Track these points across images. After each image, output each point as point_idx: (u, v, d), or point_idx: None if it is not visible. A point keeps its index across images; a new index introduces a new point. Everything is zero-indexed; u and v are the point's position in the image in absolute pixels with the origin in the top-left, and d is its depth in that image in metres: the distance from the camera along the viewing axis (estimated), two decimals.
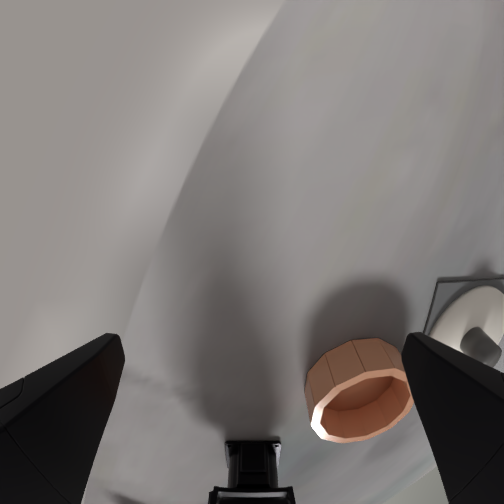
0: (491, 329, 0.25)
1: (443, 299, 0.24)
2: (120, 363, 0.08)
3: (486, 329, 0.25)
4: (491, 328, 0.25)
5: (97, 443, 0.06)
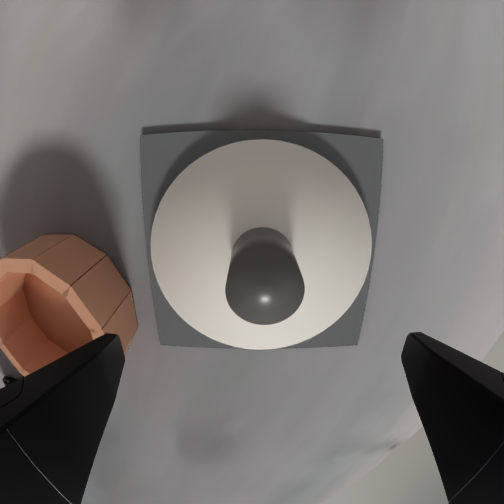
0: (321, 242, 0.16)
1: (161, 165, 0.15)
2: (120, 363, 0.08)
3: (302, 238, 0.16)
4: (320, 239, 0.16)
5: (97, 443, 0.06)
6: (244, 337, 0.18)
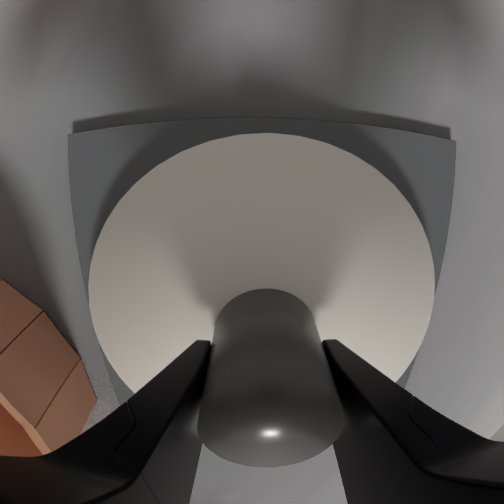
0: (361, 308, 0.09)
1: (99, 182, 0.09)
2: None
3: (332, 304, 0.09)
4: (359, 305, 0.09)
5: (198, 460, 0.06)
6: None
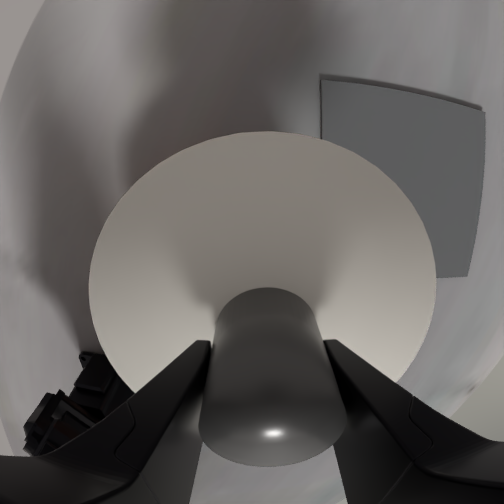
0: (362, 307, 0.09)
1: (341, 108, 0.16)
2: None
3: (333, 303, 0.09)
4: (361, 303, 0.09)
5: (198, 460, 0.06)
6: None
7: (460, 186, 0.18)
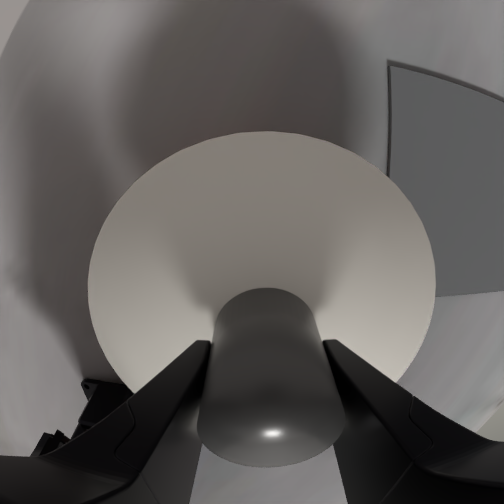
0: (361, 308, 0.09)
1: (410, 100, 0.13)
2: None
3: (332, 303, 0.09)
4: (360, 304, 0.09)
5: (198, 460, 0.06)
6: None
7: None
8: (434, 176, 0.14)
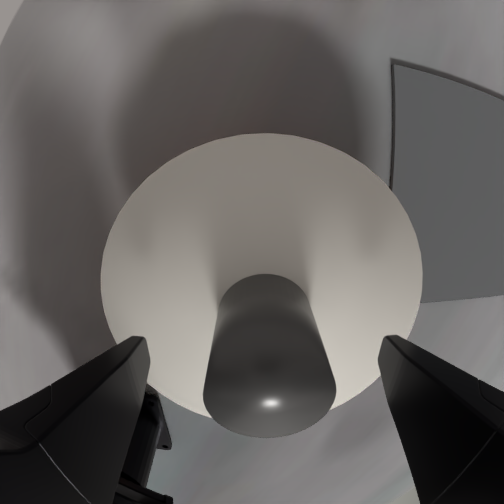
0: (353, 293, 0.10)
1: (415, 99, 0.12)
2: (146, 366, 0.08)
3: (325, 289, 0.10)
4: (351, 290, 0.10)
5: (126, 450, 0.06)
6: None
7: None
8: (438, 178, 0.14)
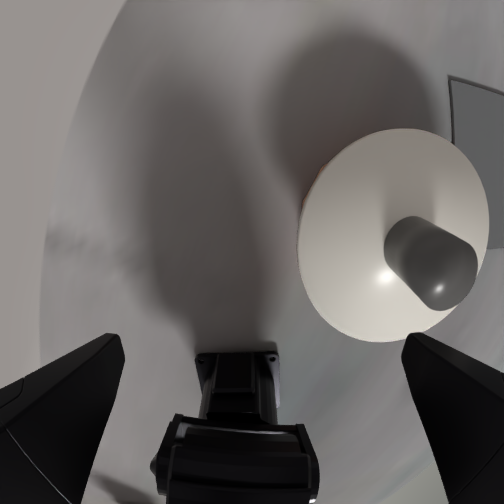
0: (455, 229, 0.14)
1: (464, 104, 0.16)
2: (120, 363, 0.08)
3: (442, 225, 0.14)
4: (455, 226, 0.14)
5: (97, 443, 0.06)
6: (383, 330, 0.16)
7: None
8: (481, 159, 0.17)
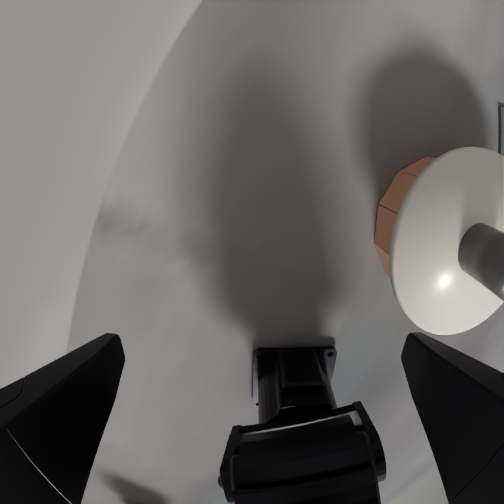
0: None
1: None
2: (120, 363, 0.08)
3: None
4: None
5: (98, 443, 0.06)
6: (446, 324, 0.16)
7: None
8: None
